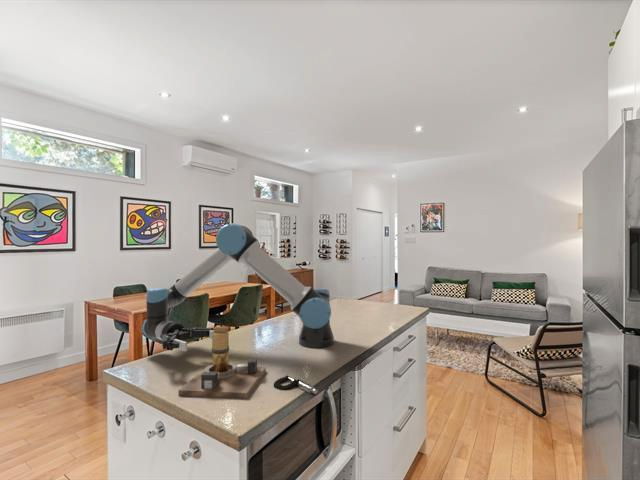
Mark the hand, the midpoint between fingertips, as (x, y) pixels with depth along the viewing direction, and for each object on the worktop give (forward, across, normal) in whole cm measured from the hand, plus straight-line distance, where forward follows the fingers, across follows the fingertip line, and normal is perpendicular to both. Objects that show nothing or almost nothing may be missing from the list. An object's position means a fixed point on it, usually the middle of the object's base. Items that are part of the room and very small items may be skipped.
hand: (204, 341), depth 110 cm
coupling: (+8, 0, -9) cm, 12 cm away
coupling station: (+13, +1, -10) cm, 16 cm away
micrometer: (+33, -7, -11) cm, 35 cm away
